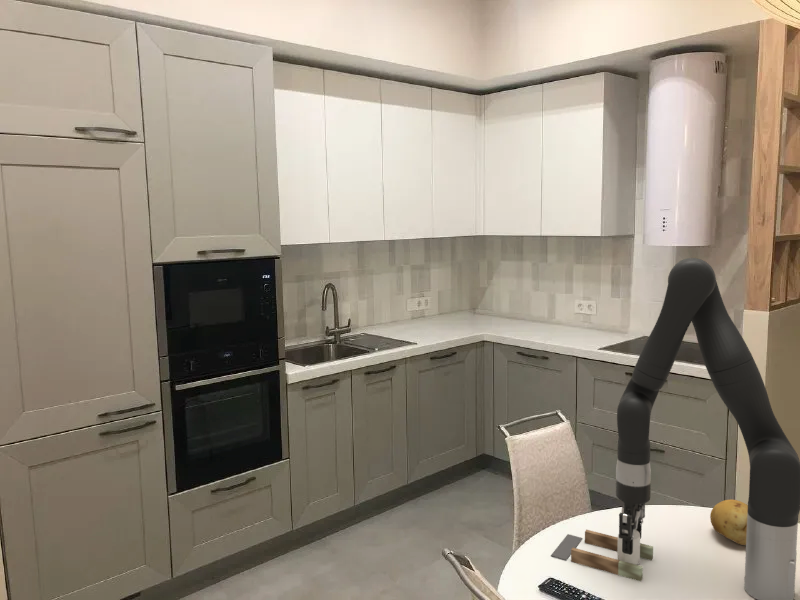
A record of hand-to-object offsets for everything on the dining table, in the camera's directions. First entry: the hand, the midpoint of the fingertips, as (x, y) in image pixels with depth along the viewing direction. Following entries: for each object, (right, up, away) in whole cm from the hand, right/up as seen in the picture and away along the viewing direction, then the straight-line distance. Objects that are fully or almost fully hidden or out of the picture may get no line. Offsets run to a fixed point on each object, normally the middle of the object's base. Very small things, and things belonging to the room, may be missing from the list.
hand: (631, 545), depth 146 cm
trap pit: (-13, -4, +9) cm, 16 cm away
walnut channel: (-4, -5, +3) cm, 7 cm away
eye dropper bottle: (0, -5, +1) cm, 5 cm away
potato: (+29, -3, +11) cm, 32 cm away
